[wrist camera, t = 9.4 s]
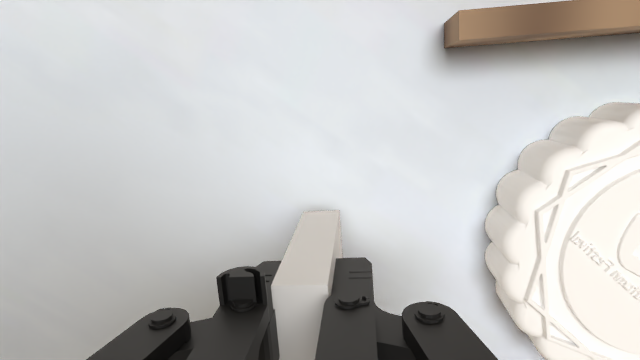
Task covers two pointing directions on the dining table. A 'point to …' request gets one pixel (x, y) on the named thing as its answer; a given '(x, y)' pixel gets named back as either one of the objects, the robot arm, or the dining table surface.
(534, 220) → the mooncake
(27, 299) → the dining table surface
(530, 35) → the wooden u-shaped frame
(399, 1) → the dining table surface
